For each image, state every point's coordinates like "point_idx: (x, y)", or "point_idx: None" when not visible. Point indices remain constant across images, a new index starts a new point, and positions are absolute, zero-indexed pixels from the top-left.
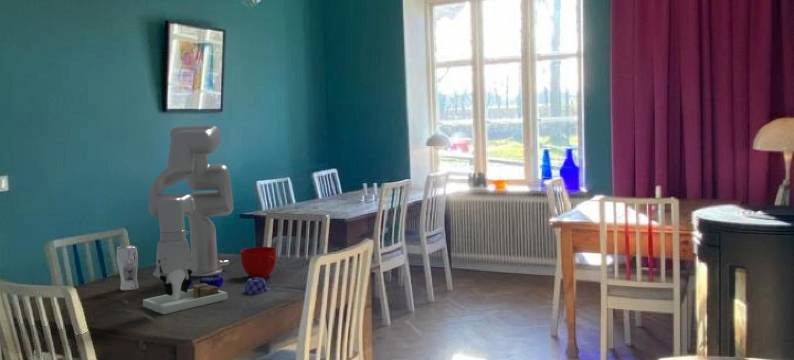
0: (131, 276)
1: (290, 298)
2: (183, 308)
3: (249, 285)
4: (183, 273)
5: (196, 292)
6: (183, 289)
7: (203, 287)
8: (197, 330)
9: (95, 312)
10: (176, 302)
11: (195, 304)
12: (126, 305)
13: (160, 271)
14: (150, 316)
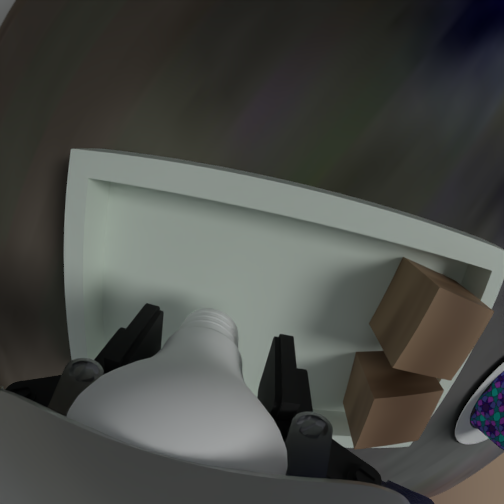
0: None
1: (447, 484)
2: None
3: (498, 430)
4: None
5: (391, 325)
6: (263, 380)
7: (394, 401)
8: None
9: (6, 31)
10: (257, 264)
11: None
12: (115, 4)
13: (7, 400)
14: (63, 305)
